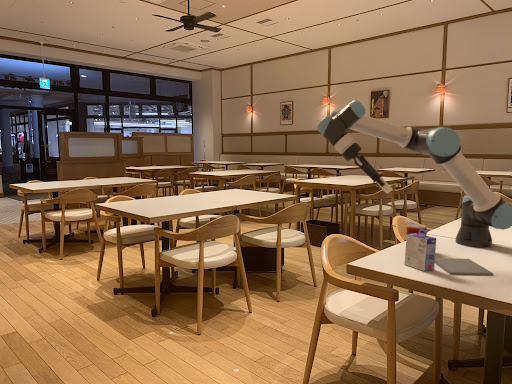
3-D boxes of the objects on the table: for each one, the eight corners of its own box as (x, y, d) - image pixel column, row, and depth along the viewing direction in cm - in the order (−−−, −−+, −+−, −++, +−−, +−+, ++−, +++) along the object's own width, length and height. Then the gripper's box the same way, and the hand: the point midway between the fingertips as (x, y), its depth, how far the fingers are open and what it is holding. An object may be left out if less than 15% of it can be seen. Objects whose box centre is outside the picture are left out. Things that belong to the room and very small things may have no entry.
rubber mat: (468, 260, 158) (468, 258, 158) (493, 275, 140) (493, 273, 140) (430, 259, 159) (430, 258, 159) (450, 274, 141) (450, 272, 141)
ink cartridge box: (435, 269, 146) (437, 231, 144) (425, 272, 144) (427, 233, 142) (413, 262, 155) (415, 226, 153) (403, 264, 152) (405, 228, 151)
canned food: (427, 252, 170) (428, 227, 168) (407, 251, 171) (408, 226, 170) (423, 248, 177) (424, 224, 176) (404, 247, 179) (405, 223, 177)
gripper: (344, 154, 165) (384, 196, 161) (338, 155, 153) (381, 200, 148) (357, 141, 162) (398, 183, 158) (352, 141, 150) (396, 186, 146)
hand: (390, 191), depth 153 cm, fingers closed
